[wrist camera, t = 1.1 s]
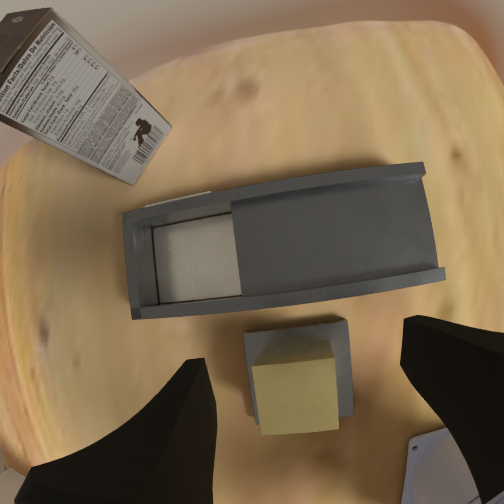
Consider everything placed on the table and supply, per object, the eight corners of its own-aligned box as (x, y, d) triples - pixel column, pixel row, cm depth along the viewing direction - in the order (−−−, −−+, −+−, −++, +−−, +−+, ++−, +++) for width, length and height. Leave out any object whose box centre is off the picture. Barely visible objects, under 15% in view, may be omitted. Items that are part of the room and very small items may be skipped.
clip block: (335, 402, 19) (338, 429, 15) (271, 409, 19) (261, 435, 16) (330, 342, 19) (334, 357, 15) (263, 349, 20) (251, 366, 16)
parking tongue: (352, 409, 19) (353, 415, 18) (258, 418, 21) (255, 424, 20) (345, 318, 20) (347, 320, 19) (246, 330, 21) (242, 333, 20)
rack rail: (429, 279, 19) (445, 279, 16) (152, 315, 23) (132, 319, 20) (409, 173, 20) (422, 158, 17) (143, 217, 24) (122, 210, 21)
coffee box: (79, 151, 26) (-46, 87, 10) (114, 97, 26) (6, 10, 10) (133, 189, 24) (-28, 114, 8) (176, 125, 24) (50, 2, 8)
